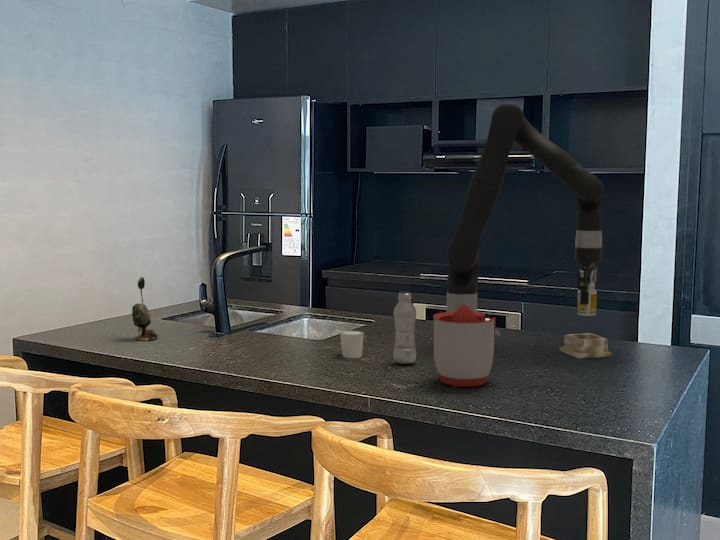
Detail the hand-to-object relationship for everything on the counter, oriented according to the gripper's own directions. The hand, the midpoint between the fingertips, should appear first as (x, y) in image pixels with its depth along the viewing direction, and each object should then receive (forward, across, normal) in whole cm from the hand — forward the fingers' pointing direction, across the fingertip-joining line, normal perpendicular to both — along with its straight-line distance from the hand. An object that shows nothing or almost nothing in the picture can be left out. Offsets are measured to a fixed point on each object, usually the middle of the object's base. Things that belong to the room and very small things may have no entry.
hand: (586, 302), depth 226 cm
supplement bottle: (+4, 0, 0) cm, 4 cm away
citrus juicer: (+15, -49, +18) cm, 54 cm away
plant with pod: (+15, -51, +129) cm, 139 cm away
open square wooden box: (+15, 0, 0) cm, 15 cm away
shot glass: (+15, -38, +58) cm, 71 cm away
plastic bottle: (+15, -39, +40) cm, 58 cm away
